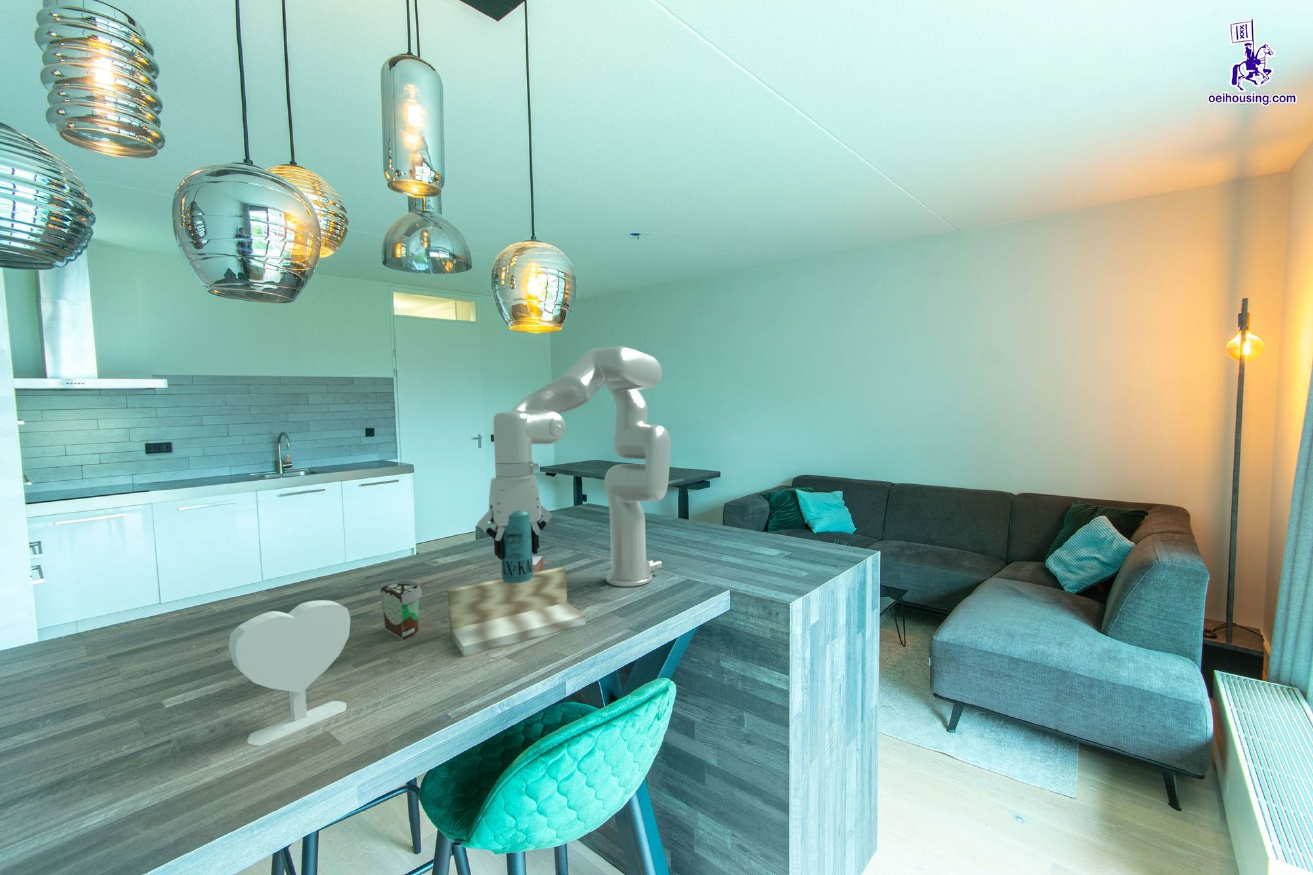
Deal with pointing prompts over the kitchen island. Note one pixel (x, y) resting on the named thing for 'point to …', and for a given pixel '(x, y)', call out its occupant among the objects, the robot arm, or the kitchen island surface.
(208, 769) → the kitchen island surface
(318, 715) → the heart sculpture
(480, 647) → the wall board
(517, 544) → the beverage bottle
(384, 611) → the food container
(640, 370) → the robot arm
